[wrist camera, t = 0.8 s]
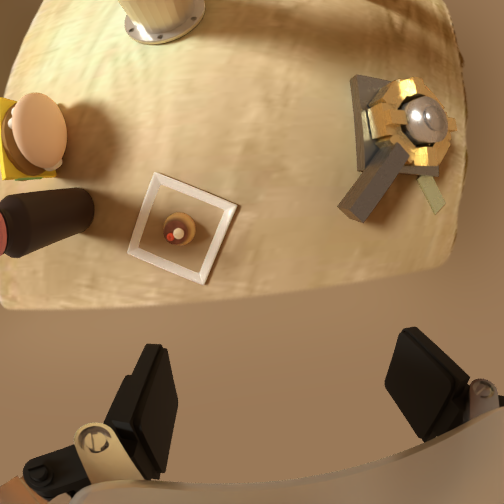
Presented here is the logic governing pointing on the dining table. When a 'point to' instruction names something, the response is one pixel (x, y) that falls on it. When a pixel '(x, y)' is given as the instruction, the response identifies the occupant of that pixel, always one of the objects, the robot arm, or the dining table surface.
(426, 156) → the ring nut
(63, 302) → the dining table surface
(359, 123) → the housing
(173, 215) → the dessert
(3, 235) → the bottle
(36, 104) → the hamburger
